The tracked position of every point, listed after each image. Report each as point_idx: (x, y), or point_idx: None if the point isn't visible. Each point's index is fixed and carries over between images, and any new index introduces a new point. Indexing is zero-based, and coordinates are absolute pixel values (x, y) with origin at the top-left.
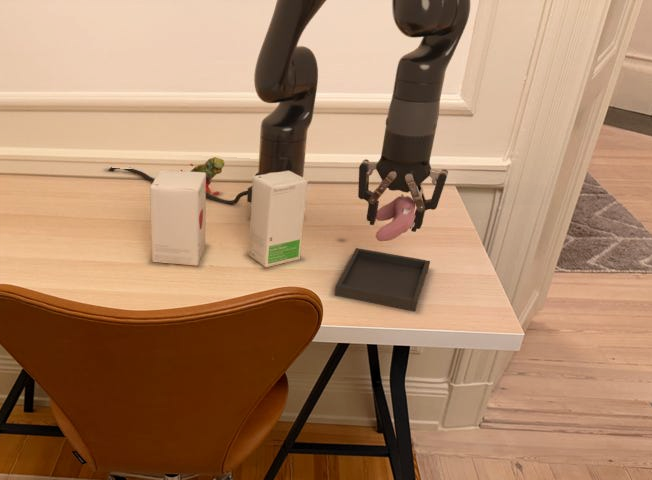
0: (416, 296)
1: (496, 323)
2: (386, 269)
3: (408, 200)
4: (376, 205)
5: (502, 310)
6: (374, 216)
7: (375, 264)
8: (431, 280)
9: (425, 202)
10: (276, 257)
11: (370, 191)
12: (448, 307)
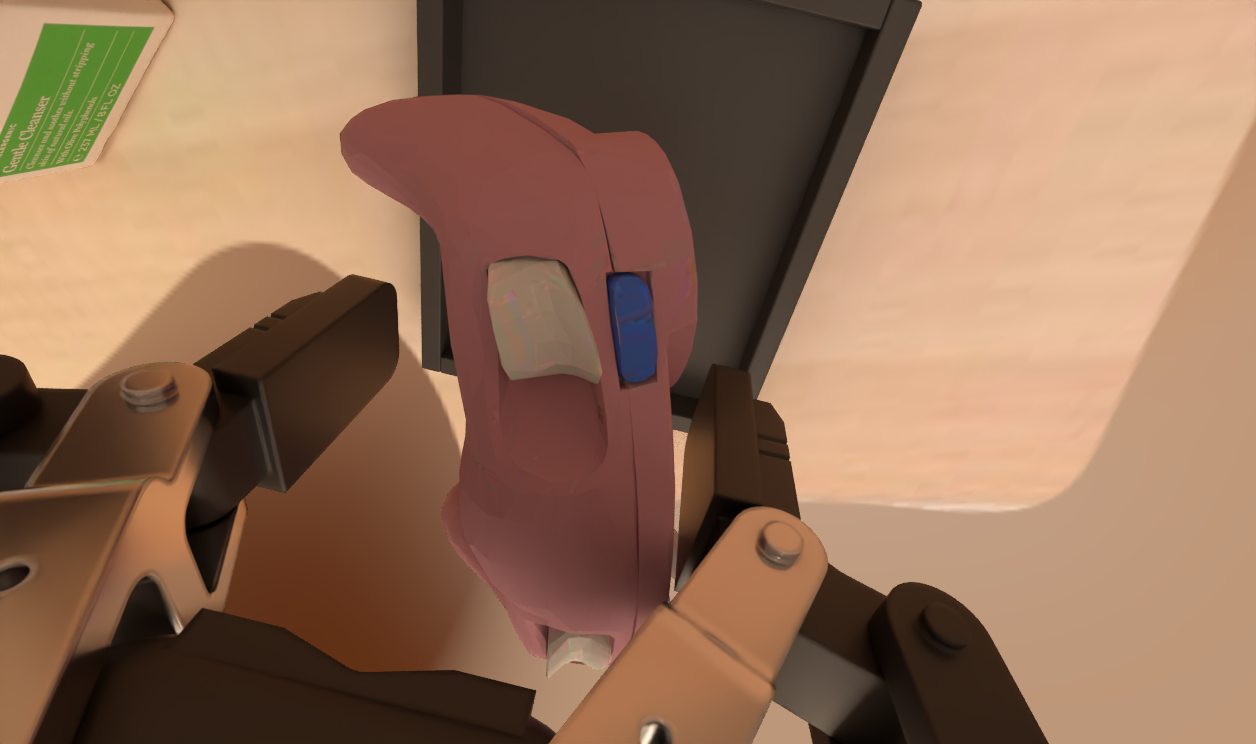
0: None
1: (1030, 460)
2: (639, 83)
3: (579, 580)
4: (283, 492)
5: (1120, 377)
6: (351, 418)
7: (576, 24)
8: (882, 140)
9: (774, 695)
10: (76, 132)
11: (36, 461)
12: (879, 378)
